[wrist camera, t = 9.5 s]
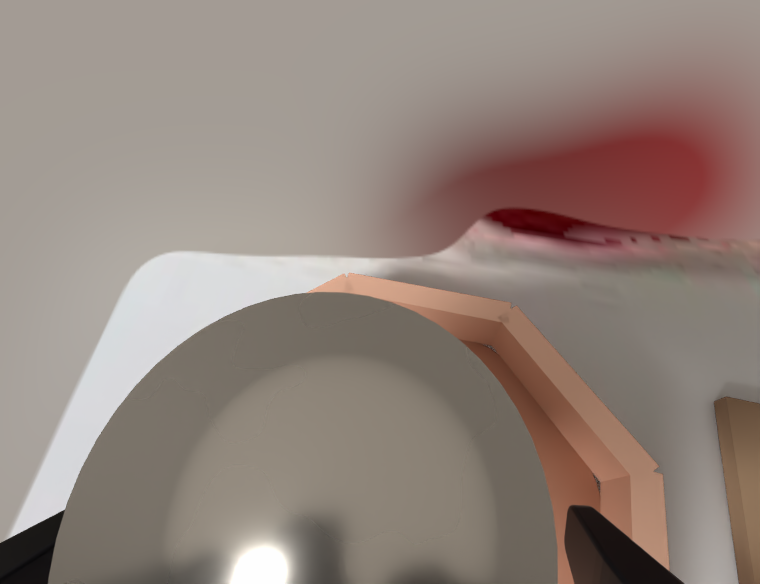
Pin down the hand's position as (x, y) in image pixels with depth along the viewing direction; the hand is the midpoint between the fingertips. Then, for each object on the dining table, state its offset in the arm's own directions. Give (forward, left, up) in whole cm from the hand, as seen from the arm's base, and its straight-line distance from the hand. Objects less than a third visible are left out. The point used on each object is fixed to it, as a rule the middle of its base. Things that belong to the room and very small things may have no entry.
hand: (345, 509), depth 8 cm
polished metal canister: (0, 0, -8) cm, 8 cm away
